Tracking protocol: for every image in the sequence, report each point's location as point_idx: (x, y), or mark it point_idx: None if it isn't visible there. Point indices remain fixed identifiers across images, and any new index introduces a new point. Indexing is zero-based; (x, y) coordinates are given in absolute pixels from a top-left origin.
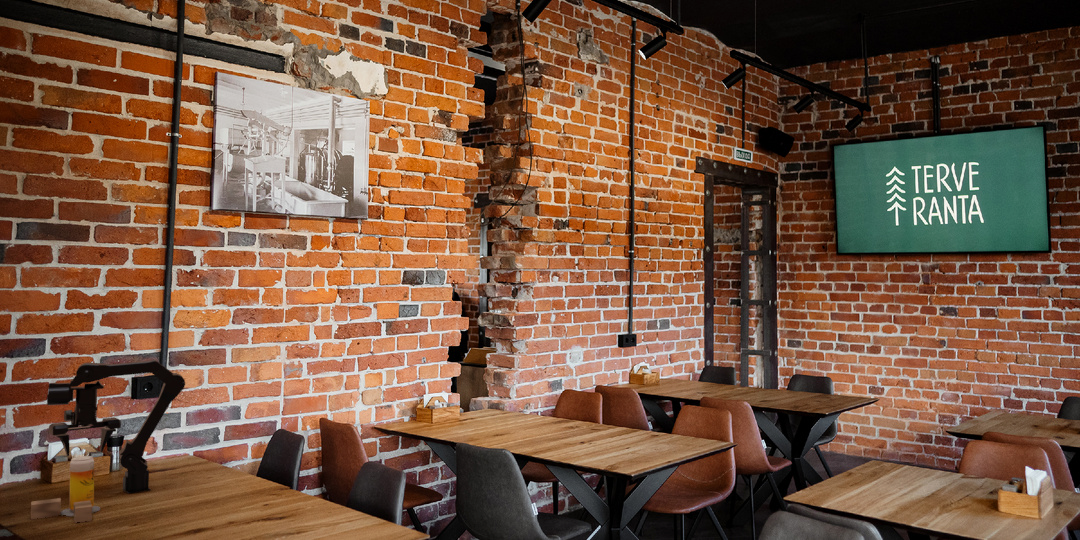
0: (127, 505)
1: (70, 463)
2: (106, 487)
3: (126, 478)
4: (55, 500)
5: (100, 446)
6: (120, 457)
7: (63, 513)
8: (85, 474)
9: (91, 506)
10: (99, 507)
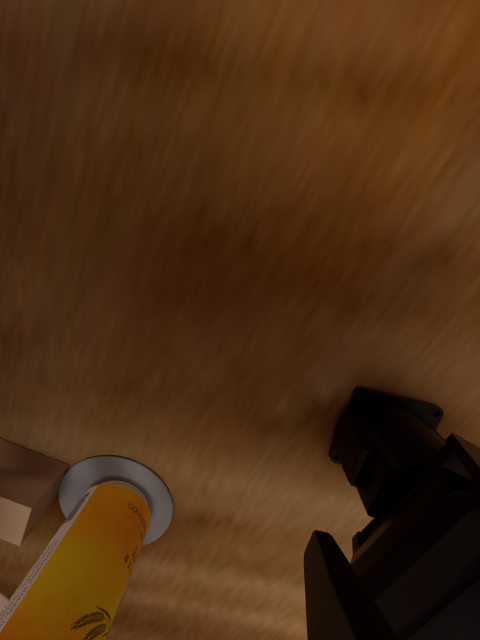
0: (239, 553)
1: None
2: (353, 282)
3: (352, 485)
4: (8, 522)
5: (329, 611)
6: (395, 585)
7: (66, 494)
8: None
9: None
10: (169, 520)
